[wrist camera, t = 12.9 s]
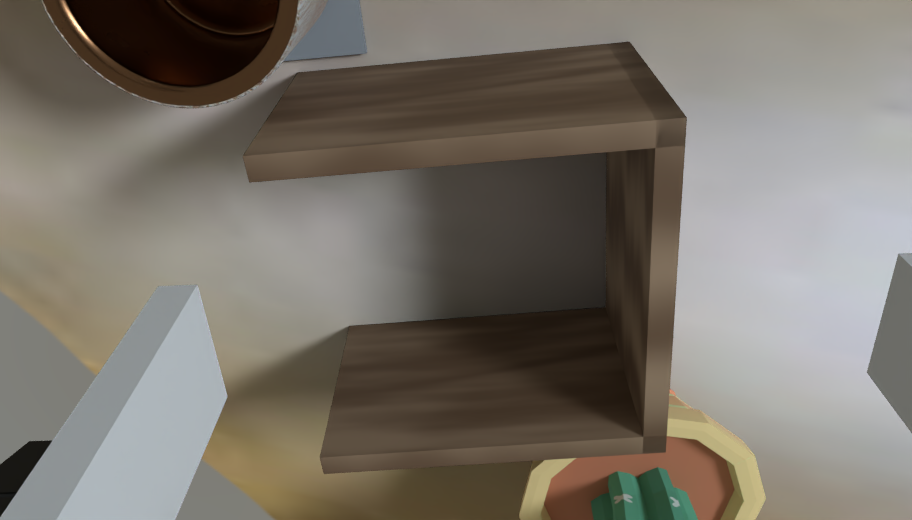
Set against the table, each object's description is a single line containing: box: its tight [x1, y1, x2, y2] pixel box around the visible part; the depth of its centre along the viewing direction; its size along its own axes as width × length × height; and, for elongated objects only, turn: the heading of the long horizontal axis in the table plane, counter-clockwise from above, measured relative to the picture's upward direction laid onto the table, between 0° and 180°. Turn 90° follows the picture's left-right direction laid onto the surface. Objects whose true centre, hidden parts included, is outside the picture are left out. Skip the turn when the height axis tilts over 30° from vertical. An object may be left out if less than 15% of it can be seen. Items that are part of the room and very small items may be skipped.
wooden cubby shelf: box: [243, 42, 687, 474], centre depth 40 cm, size 18×18×12 cm
